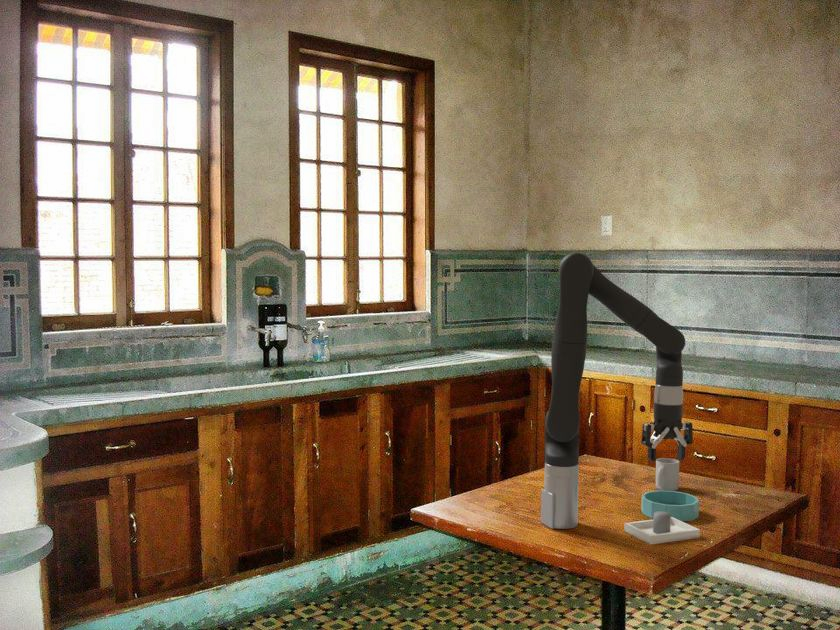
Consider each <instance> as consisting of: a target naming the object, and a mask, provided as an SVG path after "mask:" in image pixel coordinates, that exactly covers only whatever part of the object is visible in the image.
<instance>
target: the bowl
mask: <svg viewBox="0 0 840 630" xmlns="http://www.w3.org/2000/svg"><path fill="white" fill-rule="evenodd" d="M640 503H641V509H640V510H641V513H642V515H645V516H646V517H648V518H650V519H653V516H654V512H658V511H662V512H668V513H670V514H671V517H673V518H675V519H678V520H680V521H682V522H690V521H694V520H696V519H698V518H700V517H699V516H700V501H699V499H698V497H697V496H696V495H695V496H694V495H692V494H689V493H687V492H682V491H681V492H680V491H678V490H676V491H664V490H659V489H657V490H653V491H647V492H644V493H643V494H641V502H640Z"/></svg>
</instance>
